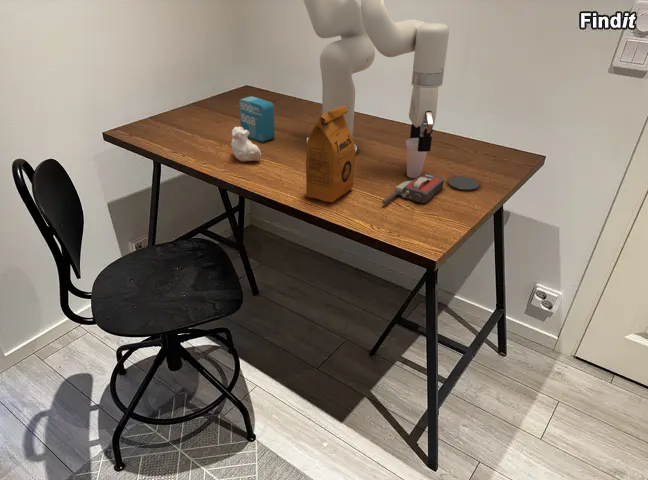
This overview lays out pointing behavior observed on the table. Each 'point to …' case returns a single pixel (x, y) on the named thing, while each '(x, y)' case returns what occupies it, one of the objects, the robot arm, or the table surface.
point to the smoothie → (414, 158)
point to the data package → (257, 118)
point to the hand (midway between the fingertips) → (419, 144)
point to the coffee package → (330, 157)
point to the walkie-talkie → (418, 188)
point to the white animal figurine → (244, 146)
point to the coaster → (463, 184)
